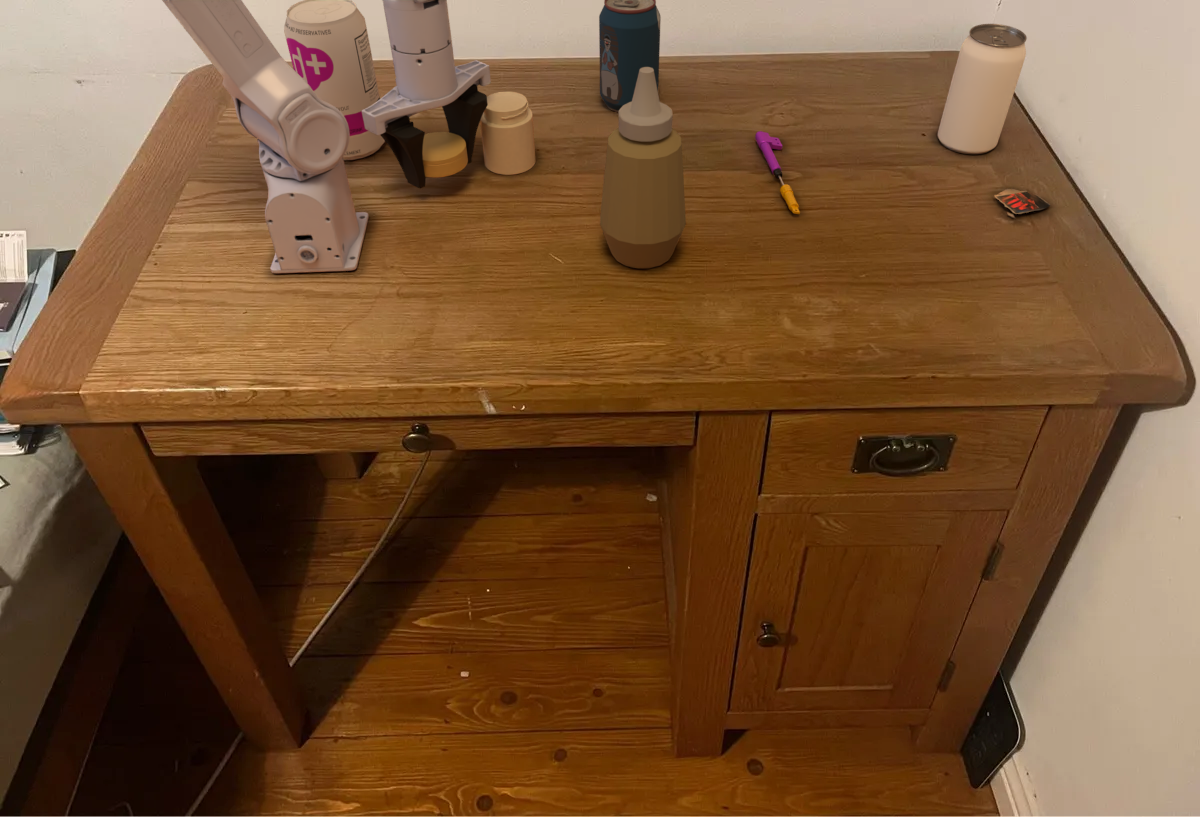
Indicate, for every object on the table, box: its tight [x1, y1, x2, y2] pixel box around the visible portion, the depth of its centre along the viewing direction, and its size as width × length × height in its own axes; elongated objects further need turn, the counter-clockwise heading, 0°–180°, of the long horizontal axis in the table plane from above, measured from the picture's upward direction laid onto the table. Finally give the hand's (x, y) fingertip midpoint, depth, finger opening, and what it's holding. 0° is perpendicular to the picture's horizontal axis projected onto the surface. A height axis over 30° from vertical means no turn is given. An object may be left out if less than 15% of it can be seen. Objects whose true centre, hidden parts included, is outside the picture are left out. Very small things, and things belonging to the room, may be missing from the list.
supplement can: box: [283, 0, 386, 161], centre depth 98 cm, size 8×8×15 cm
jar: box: [479, 91, 537, 176], centre depth 98 cm, size 6×6×7 cm
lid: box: [423, 131, 468, 178], centre depth 94 cm, size 6×6×2 cm
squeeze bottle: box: [599, 67, 687, 269], centre depth 81 cm, size 8×8×18 cm
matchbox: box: [993, 188, 1051, 220], centre depth 93 cm, size 5×5×1 cm
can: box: [937, 23, 1028, 156], centre depth 98 cm, size 6×6×12 cm
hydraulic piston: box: [754, 130, 801, 215], centre depth 97 cm, size 3×1×16 cm
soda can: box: [598, 0, 662, 114], centre depth 106 cm, size 7×7×12 cm
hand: (440, 171), depth 95 cm, fingers closed on lid, 6 cm apart
